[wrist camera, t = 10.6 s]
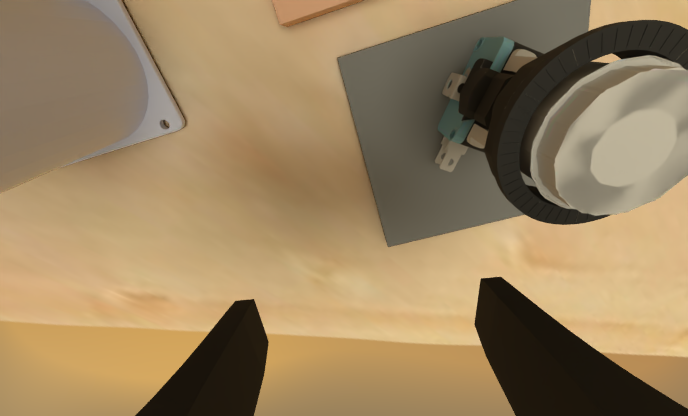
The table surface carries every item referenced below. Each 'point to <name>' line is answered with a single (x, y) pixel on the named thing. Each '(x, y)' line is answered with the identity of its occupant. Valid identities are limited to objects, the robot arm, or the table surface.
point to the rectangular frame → (306, 9)
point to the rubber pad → (438, 116)
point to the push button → (575, 119)
